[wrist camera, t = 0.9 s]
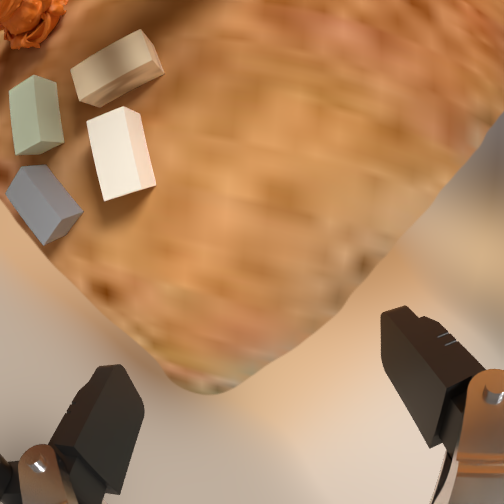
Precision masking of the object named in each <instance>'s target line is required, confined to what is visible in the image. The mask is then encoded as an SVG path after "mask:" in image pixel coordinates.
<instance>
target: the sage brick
mask: <svg viewBox="0 0 504 504" xmlns="http://www.w3.org/2000/svg"><path fill="white" fill-rule="evenodd" d="M9 102H10V115H11V125H12V134H13V142H14V149H15V155H40V154H42V153H44V152H46V151H48V150H50V149H52V148H54V147H56V146H58V145H60V144H62V143H64V136H63V130H62V124H61V117H60V110H59V102H58V94H57V84H56V82H54V81H51V80H48V79H45V78H42V77H39V76H37V75H32V76H31V77H29V78H28V79H26V80H24V81H23V82H21V83H20V84H18V85H17V86H15V87H14V88H12V89H11V90H10V91H9Z"/></svg>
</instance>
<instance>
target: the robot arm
mask: <svg viewBox="0 0 504 504" xmlns="http://www.w3.org/2000/svg"><path fill="white" fill-rule="evenodd" d="M381 359H382V363H383V367H384V369H385V372H386V374H387V375H388V377H389V379H390V380H391V382H392V384H393V385H394V387H395V389H396V391H397V392H398V394H399V396H400V397H401V399H402V401H403V402H404V404H405V406H406V407H407V409H408V411H409V413H410V414H411V416H412V418H413V420H414V421H415V423H416V425H417V427H418V428H419V430H420V432H421V434H422V436H423V437H424V439H425V441H426V443H427V445H428V447H429V448H432V447H434V446H436V445H438V444H441V443H443V444H444V446H445V447H446V449H447V450H446V452H445V455H444V459H443V463H442V467H441V470H440V473H439V477H438V480H437V483H436V486H435V489H434V492H433V495H432V499H431V501H430V504H504V370H500V369H489V370H486V369H485V368H484V367H483V366H482V365H481V364H480V363H479V362H478V361H477V360H476V359H475V358H474V357H473V356H472V355H471V354H470V353H469V352H468V351H467V350H466V349H465V348H464V347H463V346H462V345H461V344H460V343H459V342H457V341H456V339H455V338H454V337H453V336H452V335H451V334H449V333H448V331H447V330H446V329H445V328H444V327H443V326H442V325H441V324H440V323H439V322H437V321H434V320H432V319H430V318H428V317H425V316H423V317H420V318H418V317H417V316H416V315H415V314H414V313H413V312H412V311H411V310H410V309H409V308H408V307H407V306H402V307H398V308H395V309H392V310H389V311H385V312H383V313H382V314H381ZM143 418H144V405H143V402H142V399H141V397H140V395H139V394H138V392H137V390H136V388H135V387H134V385H133V383H132V381H131V379H130V377H129V376H128V374H127V372H126V370H125V368H124V367H123V366H122V365H120V364H117V365H107V366H99V367H98V368H97V369H96V371H95V372H94V374H93V375H92V377H91V379H90V380H89V382H88V383H87V384H86V385H85V386H84V387H82V388H81V389H80V390H79V391H78V393H77V394H76V396H75V398H74V399H73V401H72V405H70V406H69V408H68V410H67V413H65V415H64V417H63V418H62V420H61V422H60V424H59V425H58V427H57V429H56V431H55V433H54V434H53V436H52V438H51V440H50V442H49V444H48V445H46V444H39V445H35V446H33V447H31V448H29V449H28V450H27V451H25V453H24V454H23V455H22V456H21V458H20V460H19V461H14V462H13V461H12V462H7V461H6V460H5V459H4V458H3V457H2V456H1V454H0V501H1V502H2V503H3V504H107V503H106V501H105V500H104V499H103V497H104V494H105V493H110V494H117V495H120V493H121V489H122V486H123V482H124V479H125V476H126V472H127V469H128V466H129V462H130V459H131V456H132V452H133V449H134V446H135V443H136V440H137V437H138V433H139V430H140V427H141V424H142V421H143Z"/></svg>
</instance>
